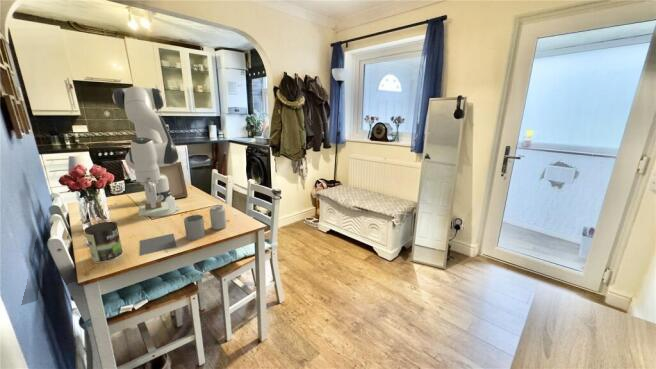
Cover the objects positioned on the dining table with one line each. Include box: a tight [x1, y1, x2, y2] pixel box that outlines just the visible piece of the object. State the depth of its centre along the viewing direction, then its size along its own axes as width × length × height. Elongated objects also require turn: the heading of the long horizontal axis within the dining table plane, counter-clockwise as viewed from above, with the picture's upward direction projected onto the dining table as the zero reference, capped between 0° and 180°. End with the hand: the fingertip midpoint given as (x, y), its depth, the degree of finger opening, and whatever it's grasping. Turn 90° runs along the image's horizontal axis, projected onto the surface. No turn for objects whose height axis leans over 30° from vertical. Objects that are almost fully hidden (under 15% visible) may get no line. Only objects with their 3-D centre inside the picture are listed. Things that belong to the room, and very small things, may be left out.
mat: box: [138, 233, 178, 257], centre depth 122 cm, size 16×14×1 cm
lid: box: [138, 200, 169, 217], centre depth 117 cm, size 11×11×3 cm
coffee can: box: [84, 221, 124, 264], centre depth 109 cm, size 10×10×14 cm
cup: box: [183, 214, 206, 241], centre depth 128 cm, size 8×8×10 cm
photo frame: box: [159, 161, 189, 199], centre depth 181 cm, size 15×22×25 cm
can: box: [209, 204, 227, 231], centre depth 139 cm, size 8×8×12 cm
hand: (153, 205), depth 117 cm, fingers closed on lid, 3 cm apart
